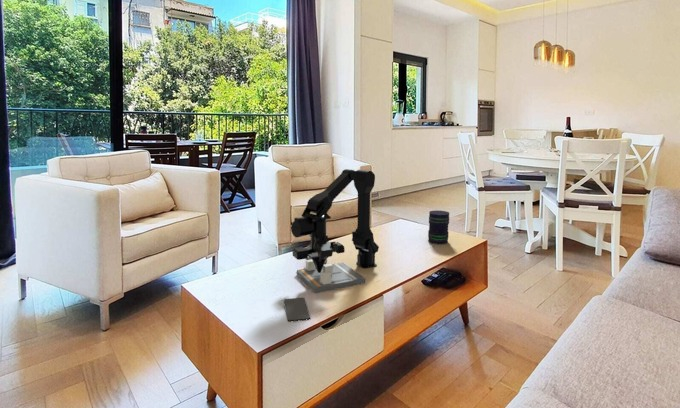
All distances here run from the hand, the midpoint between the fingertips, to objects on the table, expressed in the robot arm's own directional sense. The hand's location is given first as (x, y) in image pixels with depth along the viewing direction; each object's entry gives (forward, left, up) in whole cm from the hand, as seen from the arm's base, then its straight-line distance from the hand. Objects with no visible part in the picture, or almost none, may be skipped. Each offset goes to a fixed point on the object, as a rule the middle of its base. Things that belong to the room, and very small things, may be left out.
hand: (319, 272), depth 147 cm
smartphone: (+16, +19, -4) cm, 25 cm away
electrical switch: (-5, -17, -4) cm, 19 cm away
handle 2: (+1, +8, -1) cm, 8 cm away
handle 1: (+1, -7, -1) cm, 8 cm away
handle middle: (-3, 0, -1) cm, 4 cm away
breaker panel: (-4, 0, -3) cm, 6 cm away
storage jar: (-73, -21, -4) cm, 77 cm away
